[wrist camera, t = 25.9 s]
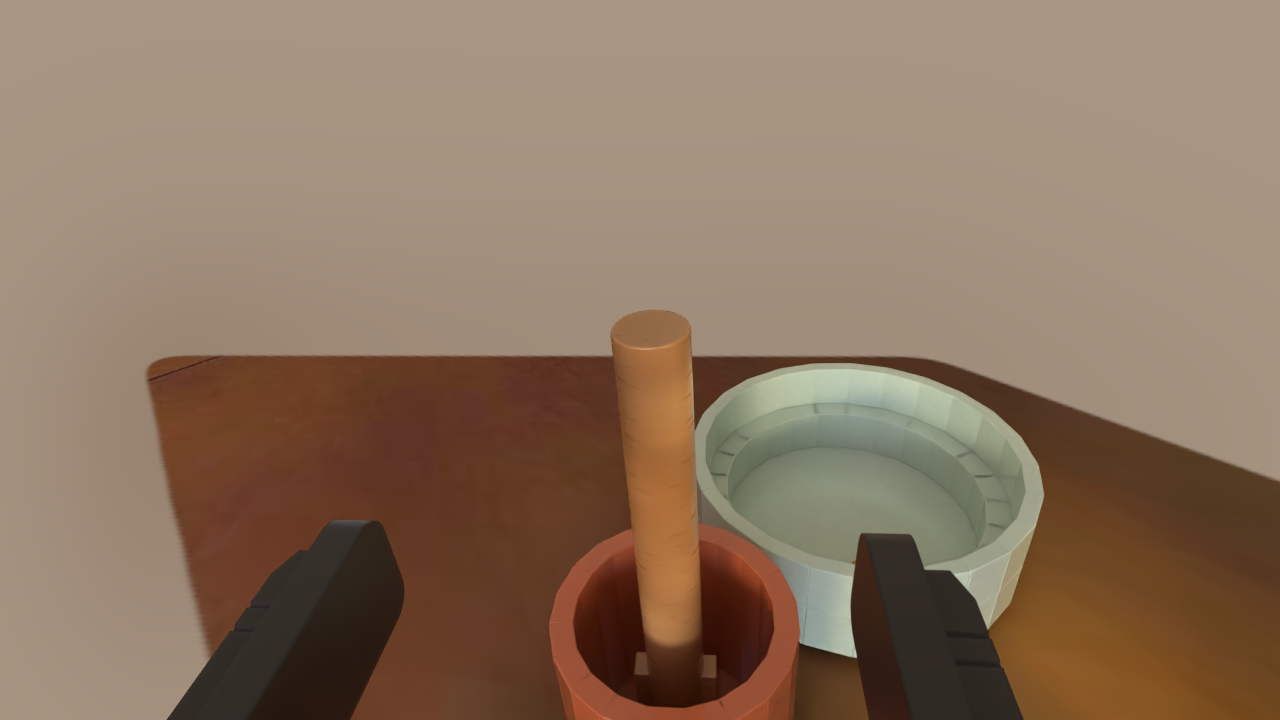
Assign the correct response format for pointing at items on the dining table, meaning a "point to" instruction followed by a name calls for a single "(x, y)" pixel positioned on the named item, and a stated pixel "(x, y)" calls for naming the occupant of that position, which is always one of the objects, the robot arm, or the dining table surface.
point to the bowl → (866, 483)
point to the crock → (731, 625)
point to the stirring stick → (663, 505)
